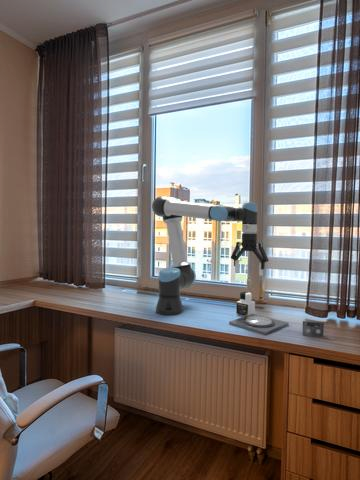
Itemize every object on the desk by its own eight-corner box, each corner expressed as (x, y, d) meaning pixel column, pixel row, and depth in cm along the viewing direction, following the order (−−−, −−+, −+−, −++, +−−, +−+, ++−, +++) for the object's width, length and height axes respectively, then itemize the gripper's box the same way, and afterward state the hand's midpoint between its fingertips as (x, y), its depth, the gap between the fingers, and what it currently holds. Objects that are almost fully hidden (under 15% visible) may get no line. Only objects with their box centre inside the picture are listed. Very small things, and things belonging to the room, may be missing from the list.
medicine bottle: (236, 314, 166) (236, 292, 165) (243, 312, 171) (243, 290, 170) (247, 317, 161) (248, 294, 160) (255, 314, 166) (255, 292, 165)
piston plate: (229, 324, 150) (229, 319, 150) (253, 315, 164) (253, 311, 163) (265, 335, 135) (265, 330, 135) (288, 325, 149) (288, 320, 149)
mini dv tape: (322, 335, 135) (323, 322, 135) (323, 337, 133) (323, 323, 133) (302, 334, 137) (302, 320, 137) (302, 335, 136) (303, 321, 135)
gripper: (224, 232, 164) (224, 272, 166) (269, 233, 148) (268, 277, 149) (232, 232, 170) (231, 270, 171) (275, 233, 154) (274, 276, 155)
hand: (248, 274), depth 160 cm, fingers open, 13 cm apart
